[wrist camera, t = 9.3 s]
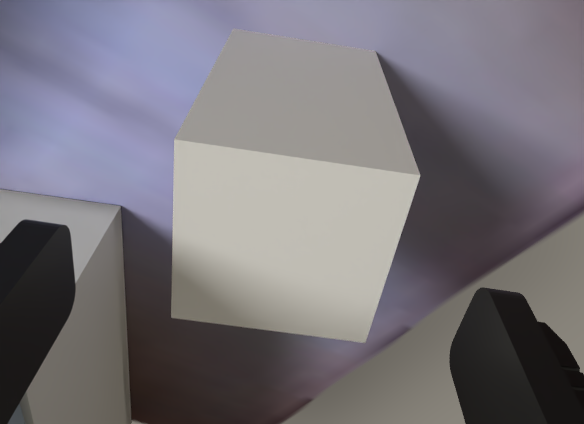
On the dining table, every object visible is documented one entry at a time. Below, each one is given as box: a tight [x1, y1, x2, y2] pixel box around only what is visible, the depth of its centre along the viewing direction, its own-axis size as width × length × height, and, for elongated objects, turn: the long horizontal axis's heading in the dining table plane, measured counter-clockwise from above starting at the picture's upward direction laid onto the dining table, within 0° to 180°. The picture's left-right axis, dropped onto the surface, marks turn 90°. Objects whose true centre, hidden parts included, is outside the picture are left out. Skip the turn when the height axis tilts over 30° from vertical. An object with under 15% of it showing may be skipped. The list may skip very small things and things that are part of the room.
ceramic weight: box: [171, 28, 420, 343], centre depth 14 cm, size 4×4×8 cm
